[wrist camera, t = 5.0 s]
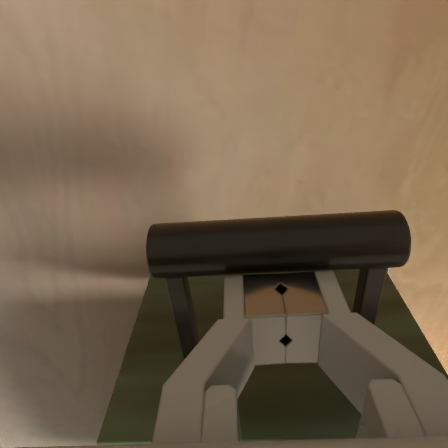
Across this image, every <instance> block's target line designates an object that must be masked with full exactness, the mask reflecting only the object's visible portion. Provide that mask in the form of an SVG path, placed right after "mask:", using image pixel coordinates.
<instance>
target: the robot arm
mask: <svg viewBox="0 0 448 448" xmlns="http://www.w3.org/2000/svg"><path fill="white" fill-rule="evenodd" d="M243 283H244V284H243ZM285 363H318V365H319V366H320V368H321V369H322V370H323V371H324V372H325V373H326V374H327V376H328V377H329V378H330V379H331V380H332V381H333V382H334V384H335V385H336V386H337V387H338V388H339V389H340V390H341V392H342V393H343V394H344V395H345V396H346V397H347V398H348V400H349V401H350V402H351V403H352V404H353V405H354V406H355V408H356V409H357V410H358V411H359V412H360V413H361V418H360V422H359V426H358V431H357V435H356V438H348V439H312V440H276V441H242V435H241V427H240V418H239V409H238V398H239V396H240V394H241V392H242V390H243V388H244V386H245V384H246V382H247V381H248V379H249V377H250V375H251V373H252V371H253V369H254V366H256V365H270V364H285ZM17 448H448V380H447V378H446V377H445V375H444V374H442V373H441V372H439V371H438V370H437V369H435V368H434V367H432V366H431V365H430V364H428V363H427V362H425V361H424V360H422V359H421V358H420V357H418V356H417V355H415V354H414V353H413V352H411V351H410V350H408V349H407V348H406V347H404V346H403V345H401V344H400V343H399V342H397V341H396V340H394V339H393V338H392V337H390V336H389V335H387V334H386V333H385V332H383V331H382V330H380V329H379V328H378V327H376V326H375V325H373V324H372V323H371V322H369V321H368V320H366V319H365V318H364V317H362V316H361V315H359V314H358V313H351V312H350V309H349V307H348V305H347V302H346V300H345V298H344V295H343V293H342V290H341V288H340V286H339V283H338V281H337V279H336V276H335V274H334V272H333V271H332V270H320V271H313V272H312V271H311V272H296V273H280V274H252V275H233V276H225V279H224V311H223V319H218V320H217V321H216V322H215V324H214V325H213V326H212V327H211V328H210V330H209V331H208V332H207V333H206V334H205V336H204V337H203V338H202V339H201V340H200V342H199V343H198V344H197V345H196V346H195V347H194V349H193V350H192V351H191V352H190V353H189V355H188V356H187V357H186V358H185V359H184V361H183V362H182V363H181V364H180V365H179V367H178V368H177V369H176V370H175V371H174V373H173V374H172V375H171V376H170V377H169V379H168V380H167V381H166V382H165V383H164V385H163V388H162V393H161V398H160V403H159V408H158V414H157V419H156V424H155V429H154V434H153V440H152V444H129V445H92V446H54V447H17Z"/></svg>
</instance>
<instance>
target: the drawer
mask: <svg viewBox="0 0 448 448" xmlns="http://www.w3.org/2000/svg"><path fill="white" fill-rule="evenodd" d="M410 251H411V235H410V230H409V226H408V223H407V221H406V219H405V217H404V216H403V214H402V213H400V212H399V211H396V210H390V211H373V212H355V213H338V214H320V215H303V216H285V217H268V218H250V219H233V220H215V221H198V222H180V223H163V224H153V225H151V226H150V228H149V231H148V235H147V243H146V255H147V263H148V267H149V271H150V273H151V275H150V279H149V282H148V285H147V288H146V291H145V294H144V297H143V300H142V303H141V307H140V310H139V313H138V316H137V319H136V322H135V325H134V328H133V331H132V335H131V338H130V341H129V344H128V347H127V350H126V353H125V356H124V359H123V363H122V366H121V369H120V372H119V375H118V378H117V381H116V384H115V387H114V391H113V394H112V397H111V400H110V403H109V406H108V409H107V412H106V416H105V419H104V422H103V425H102V428H101V431H100V434H99V437H98V440H97V444H98V445H129V444H152V440H153V434H154V429H155V424H156V419H157V414H158V408H159V403H160V398H161V393H162V388H163V385H164V383H165V382H166V381H167V380H168V379H169V377H170V376H171V375H172V374H173V373H174V371H175V370H176V369H177V368H178V367H179V365H180V364H181V363H182V362H183V361H184V359H185V358H186V357H187V356H188V355H189V353H190V352H191V351H192V350H193V349H194V347H195V346H196V345H197V344H198V343H199V342H200V340H201V339H202V338H203V337H204V336H205V334H206V333H207V332H208V331H209V330H210V328H211V327H212V326H213V325H214V324H215V322H216V321H217V320H218V319H223V311H224V279H225V276H233V275H252V274H280V273H296V272H311V271H312V272H313V271H320V270H332V271H333V272H334V274H335V276H336V279H337V281H338V283H339V286H340V288H341V290H342V293H343V295H344V298H345V300H346V302H347V305H348V307H349V309H350V312H351V313H358V314H359V315H361V316H362V317H364V318H365V319H366V320H368V321H369V322H371V323H372V324H373V325H375V326H376V327H378V328H379V329H380V330H382V331H383V332H385V333H386V334H387V335H389V336H390V337H392V338H393V339H394V340H396V341H397V342H399V343H400V344H401V345H403V346H404V347H406V348H407V349H408V350H410V351H411V352H413V353H414V354H415V355H417V356H418V357H420V358H421V359H422V360H424V361H425V362H427V363H428V364H430V365H431V366H432V367H434V368H435V369H437V370H438V371H439V372H441V373H442V374H444V375H445V377H446V378H447V380H448V375H447V373H446V371H445V370H444V368H443V366H442V365H441V363H440V361H439V360H438V358H437V356H436V354H435V353H434V351H433V349H432V348H431V346H430V344H429V343H428V341H427V339H426V338H425V336H424V334H423V333H422V331H421V329H420V327H419V326H418V324H417V322H416V321H415V319H414V317H413V316H412V314H411V312H410V311H409V309H408V307H407V306H406V304H405V302H404V300H403V299H402V297H401V295H400V294H399V292H398V290H397V289H396V287H395V285H394V284H393V282H392V280H391V279H390V277H389V275H388V273H387V271H388V268H390V267H402V266H403V265H405V264H406V262H407V261H408V259H409V256H410ZM243 284H244V283H243ZM238 409H239V418H240V427H241V435H242V441H276V440H312V439H348V438H356V435H357V431H358V426H359V422H360V418H361V413H360V412H359V411H358V410H357V409H356V408H355V406H354V405H353V404H352V403H351V402H350V401H349V400H348V398H347V397H346V396H345V395H344V394H343V393H342V392H341V390H340V389H339V388H338V387H337V386H336V385H335V384H334V382H333V381H332V380H331V379H330V378H329V377H328V376H327V374H326V373H325V372H324V371H323V370H322V369H321V368H320V366H319V365H318V363H285V364H270V365H256V366H254V369H253V371H252V373H251V375H250V377H249V379H248V381H247V382H246V384H245V386H244V388H243V390H242V392H241V394H240V396H239V398H238Z"/></svg>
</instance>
